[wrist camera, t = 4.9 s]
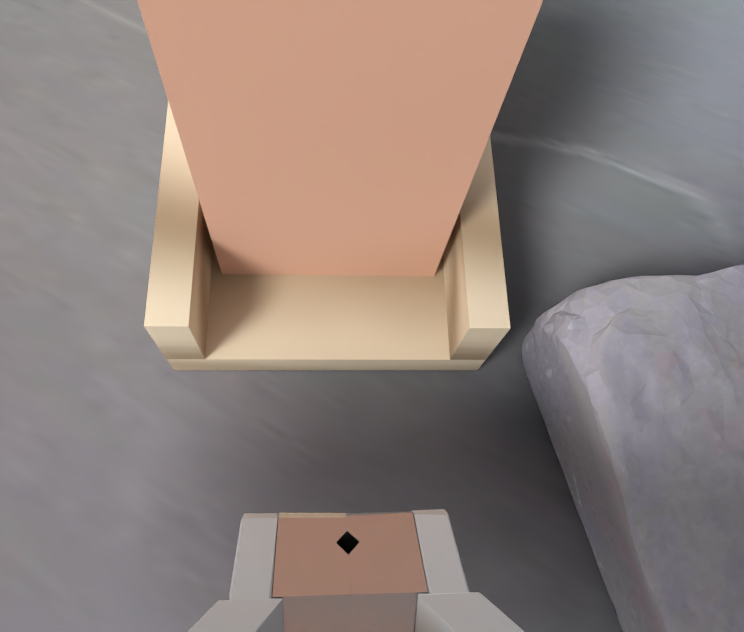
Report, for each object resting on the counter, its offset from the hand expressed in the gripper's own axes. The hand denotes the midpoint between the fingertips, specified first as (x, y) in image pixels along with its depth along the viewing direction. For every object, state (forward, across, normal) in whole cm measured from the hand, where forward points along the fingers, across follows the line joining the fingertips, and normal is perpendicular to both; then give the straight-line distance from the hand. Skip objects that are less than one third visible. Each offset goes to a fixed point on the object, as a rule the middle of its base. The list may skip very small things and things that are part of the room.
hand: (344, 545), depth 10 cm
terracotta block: (+12, 0, -2) cm, 12 cm away
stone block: (+7, -11, +5) cm, 14 cm away
